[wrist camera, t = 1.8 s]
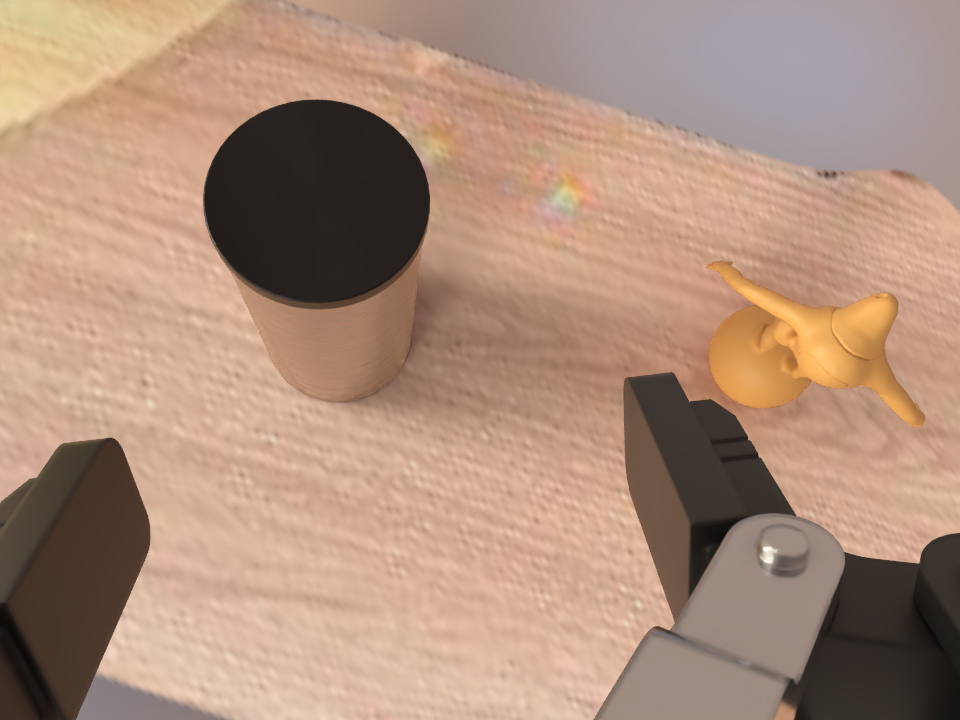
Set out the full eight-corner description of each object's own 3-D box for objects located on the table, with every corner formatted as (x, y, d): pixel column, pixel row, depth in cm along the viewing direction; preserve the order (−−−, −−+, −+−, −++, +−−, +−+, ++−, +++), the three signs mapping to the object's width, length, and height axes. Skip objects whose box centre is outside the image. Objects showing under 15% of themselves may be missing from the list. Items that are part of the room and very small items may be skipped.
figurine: (846, 397, 34) (1081, 298, 23) (771, 511, 32) (982, 466, 21) (687, 274, 35) (836, 117, 23) (604, 379, 33) (721, 265, 22)
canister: (232, 335, 32) (153, 197, 21) (338, 236, 34) (316, 59, 22) (341, 435, 31) (320, 348, 20) (443, 330, 33) (475, 195, 22)
